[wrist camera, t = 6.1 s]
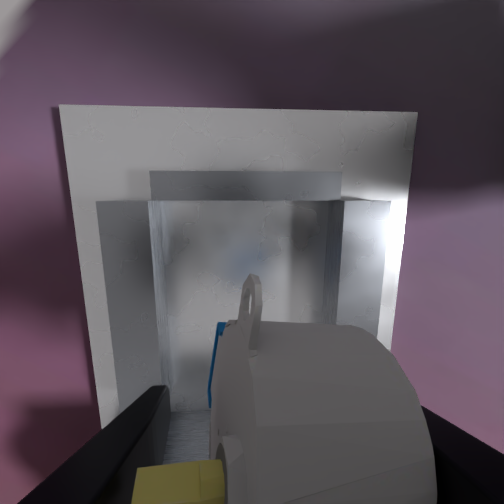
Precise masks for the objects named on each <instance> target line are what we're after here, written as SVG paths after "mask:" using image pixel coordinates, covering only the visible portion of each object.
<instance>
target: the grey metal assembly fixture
mask: <svg viewBox="0 0 504 504" xmlns="http://www.w3.org/2000/svg"><path fill="white" fill-rule="evenodd" d="M59 111H60V119H61V126H62V134H63V141H64V149H65V156H66V164H67V171H68V179H69V186H70V194H71V201H72V209H73V217H74V224H75V232H76V239H77V247H78V254H79V262H80V269H81V277H82V284H83V292H84V299H85V307H86V315H87V322H88V330H89V337H90V345H91V352H92V360H93V367H94V375H95V382H96V390H97V398H98V405H99V413H100V420H101V428H102V429H103V428H104V427H105V426H106V425H107V424H109V423H110V422H111V421H112V420H113V419H114V418H115V417H117V416H118V415H119V414H120V413H121V412H122V411H123V410H125V409H126V408H127V407H128V406H129V405H130V404H131V403H133V402H134V401H135V400H136V399H137V398H138V397H139V396H141V395H142V394H143V393H144V392H145V391H146V390H147V389H149V388H150V387H151V386H153V385H167V386H168V387H169V392H170V406H171V420H170V426H169V432H168V437H167V443H166V448H165V454H164V459H163V464H162V465H166V464H174V463H182V462H190V461H198V460H209V422H211V421H210V419H211V408H209V405H208V394H207V390H208V380H209V373H210V367H211V360H212V354H213V347H214V340H215V334H216V327H217V323H218V322H228V320H238V314H239V307H240V300H241V294H242V287H243V284H244V282H245V280H246V279H247V277H248V275H249V274H250V273H251V274H254V275H257V276H259V279H260V282H261V284H262V301H263V307H262V314H261V321H275V322H295V323H316V324H337V325H352V326H356V327H359V328H362V329H364V330H366V331H367V332H369V333H371V334H373V335H374V336H375V337H376V338H377V339H378V340H379V341H380V342H381V343H382V344H383V345H384V346H385V347H386V348H387V349H388V350H389V351H390V349H391V340H392V331H393V323H394V314H395V305H396V297H397V288H398V280H399V271H400V262H401V254H402V245H403V236H404V228H405V219H406V210H407V202H408V193H409V184H410V176H411V167H412V158H413V150H414V141H415V132H416V124H417V115H418V112H388V111H340V110H293V109H246V108H199V107H151V106H104V105H59ZM251 300H252V297H251V295H250V301H249V314H250V310H251Z"/></svg>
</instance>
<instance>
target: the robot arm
mask: <svg viewBox="0 0 504 504" xmlns="http://www.w3.org/2000/svg"><path fill="white" fill-rule="evenodd" d="M421 408H422V411H423V413H424V416H425V419H426V423H427V427H428V430H429V434H430V438H431V442H432V446H433V452H434V459H435V471H436V482H437V504H504V454H502V453H500V452H499V451H497V450H495V449H494V448H492V447H490V446H489V445H487V444H485V443H484V442H482V441H480V440H479V439H477V438H475V437H474V436H472V435H470V434H469V433H467V432H465V431H464V430H462V429H460V428H458V427H457V426H455V425H453V424H452V423H450V422H448V421H447V420H445V419H443V418H442V417H440V416H438V415H437V414H435V413H433V412H432V411H430V410H428V409H427V408H425V407H423V406H422V405H421ZM170 420H171V406H170V392H169V387H168V386H167V385H153V386H151V387H150V388H149V389H147V390H146V391H145V392H144V393H143V394H142V395H141V396H139V397H138V398H137V399H136V400H135V401H134V402H133V403H131V404H130V405H129V406H128V407H127V408H126V409H125V410H123V411H122V412H121V413H120V414H119V415H118V416H117V417H115V418H114V419H113V420H112V421H111V422H110V423H109V424H107V425H106V426H105V427H104V428H103V429H102V430H101V431H99V432H98V433H97V434H96V435H95V436H94V437H93V438H92V439H90V440H89V441H88V442H87V443H86V444H85V445H84V446H82V447H81V448H80V449H79V450H78V451H77V452H76V453H74V454H73V455H72V456H71V457H70V458H69V459H68V460H66V461H65V462H64V463H63V464H62V465H61V466H60V467H58V468H57V469H56V470H55V471H54V472H53V473H52V474H50V475H49V476H48V477H47V478H46V479H45V480H44V481H42V482H41V483H40V484H39V485H38V486H37V487H36V488H34V489H33V490H32V491H31V492H30V493H29V494H28V495H26V496H25V497H24V498H23V499H22V500H21V501H20V502H18V503H17V504H131V502H132V496H133V490H134V485H135V479H136V473H137V468H141V467H149V466H157V465H162V464H163V459H164V454H165V448H166V443H167V437H168V432H169V426H170Z"/></svg>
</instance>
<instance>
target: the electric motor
mask: <svg viewBox="0 0 504 504" xmlns="http://www.w3.org/2000/svg"><path fill="white" fill-rule="evenodd" d="M250 295H251V297H252V300H251V310H250V314H249V301H250ZM262 307H263V301H262V284H261V282H260V279H259V276H257V275H254V274H251V273H250V274H249V275H248V277H247V279H246V280H245V282H244V284H243V287H242V294H241V300H240V307H239V314H238V320H228V322H218V323H217V327H216V334H215V340H214V347H213V354H212V360H211V367H210V373H209V380H208V390H207V394H208V405H209V408H211V419H210V421H211V422H209V460H198V461H190V462H182V463H174V464H166V465H157V466H149V467H141V468H137V473H136V479H135V485H134V490H133V496H132V502H131V504H437V482H436V471H435V459H434V452H433V446H432V442H431V438H430V434H429V430H428V427H427V423H426V419H425V416H424V413H423V411H422V408H421V405H420V402H419V399H418V397H417V394H416V391H415V389H414V388H413V386H412V385H411V383H410V381H409V380H408V378H407V377H406V375H405V373H404V372H403V370H402V368H401V367H400V365H399V364H398V362H397V360H396V359H395V357H394V356H393V354H392V353H391V352H390V351H389V350H388V349H387V348H386V347H385V346H384V345H383V344H382V343H381V342H380V341H379V340H378V339H377V338H376V337H375V336H374V335H373V334H371V333H369V332H367V331H366V330H364V329H362V328H359V327H356V326H352V325H337V324H316V323H295V322H275V321H261V314H262Z"/></svg>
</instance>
